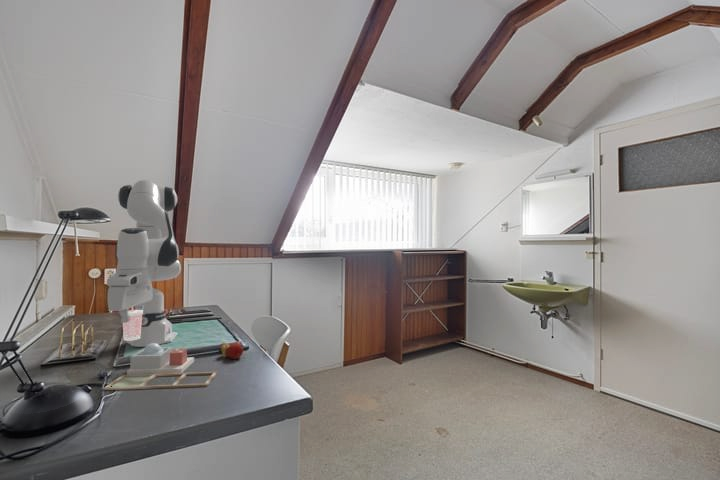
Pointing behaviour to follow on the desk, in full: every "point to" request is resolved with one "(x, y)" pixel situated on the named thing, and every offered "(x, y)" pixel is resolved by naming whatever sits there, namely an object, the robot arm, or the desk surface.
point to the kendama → (231, 350)
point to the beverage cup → (133, 325)
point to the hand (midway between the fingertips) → (132, 319)
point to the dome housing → (160, 362)
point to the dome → (152, 349)
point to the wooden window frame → (142, 379)
